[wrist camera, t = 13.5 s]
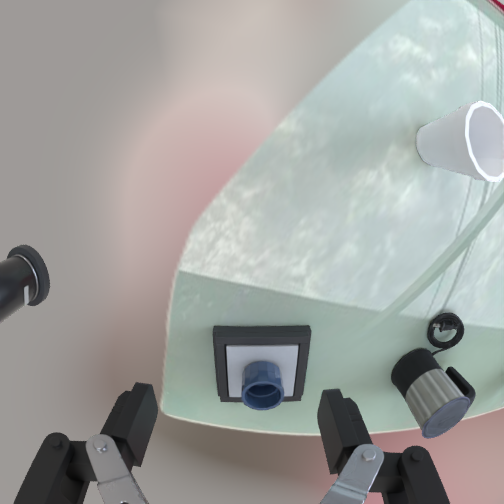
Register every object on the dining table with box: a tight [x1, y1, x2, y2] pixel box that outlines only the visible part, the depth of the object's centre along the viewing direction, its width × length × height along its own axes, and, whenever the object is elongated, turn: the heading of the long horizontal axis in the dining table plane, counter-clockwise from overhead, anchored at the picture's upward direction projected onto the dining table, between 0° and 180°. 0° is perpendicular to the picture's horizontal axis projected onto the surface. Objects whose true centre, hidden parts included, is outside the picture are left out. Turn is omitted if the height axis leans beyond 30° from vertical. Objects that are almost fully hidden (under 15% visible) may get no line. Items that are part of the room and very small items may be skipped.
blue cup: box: [241, 361, 284, 410], centre depth 37 cm, size 6×6×5 cm
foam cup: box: [416, 101, 504, 182], centre depth 27 cm, size 10×9×13 cm
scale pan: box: [226, 344, 298, 397], centre depth 40 cm, size 10×10×1 cm
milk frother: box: [392, 313, 476, 438], centre depth 36 cm, size 14×16×15 cm
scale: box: [213, 326, 311, 402], centre depth 41 cm, size 14×13×3 cm
